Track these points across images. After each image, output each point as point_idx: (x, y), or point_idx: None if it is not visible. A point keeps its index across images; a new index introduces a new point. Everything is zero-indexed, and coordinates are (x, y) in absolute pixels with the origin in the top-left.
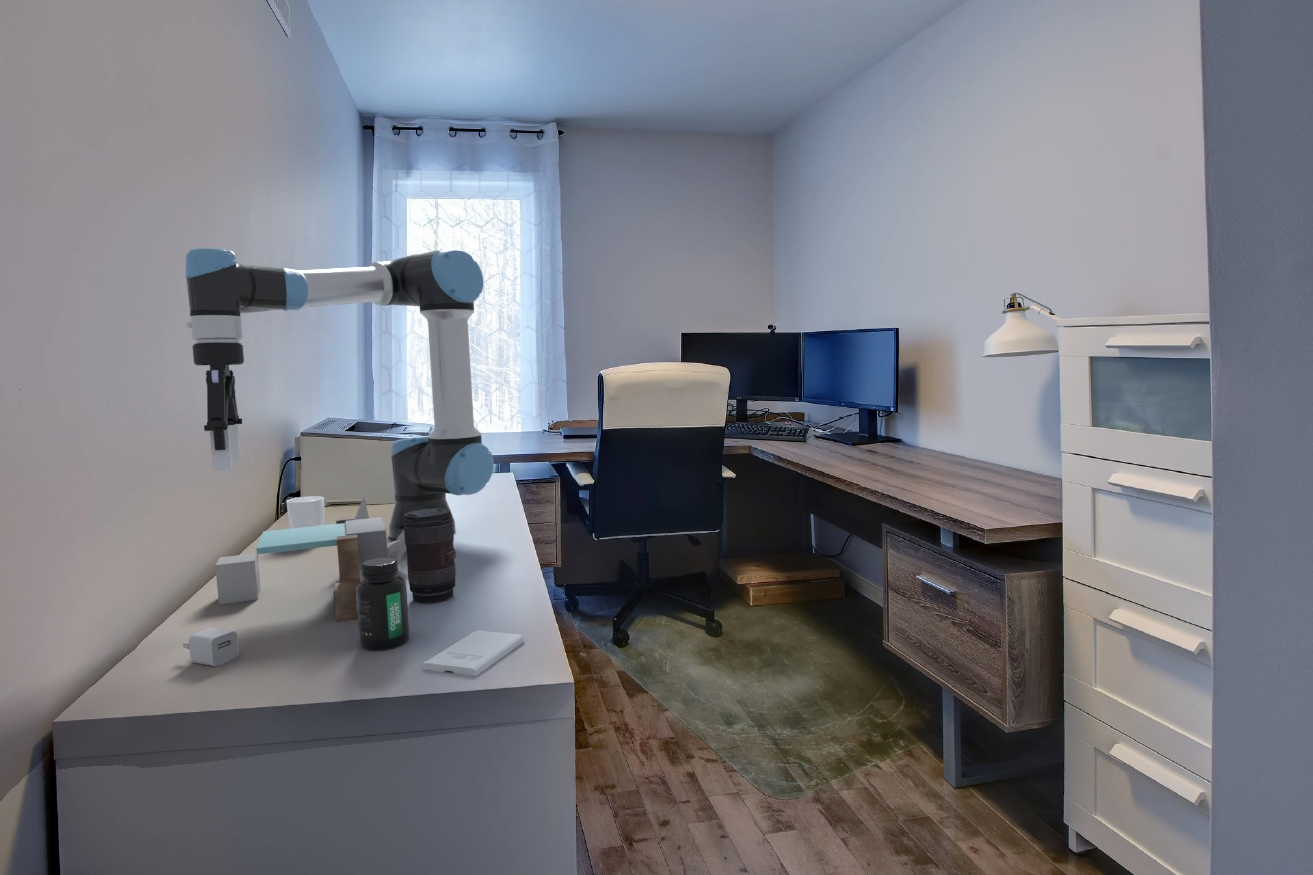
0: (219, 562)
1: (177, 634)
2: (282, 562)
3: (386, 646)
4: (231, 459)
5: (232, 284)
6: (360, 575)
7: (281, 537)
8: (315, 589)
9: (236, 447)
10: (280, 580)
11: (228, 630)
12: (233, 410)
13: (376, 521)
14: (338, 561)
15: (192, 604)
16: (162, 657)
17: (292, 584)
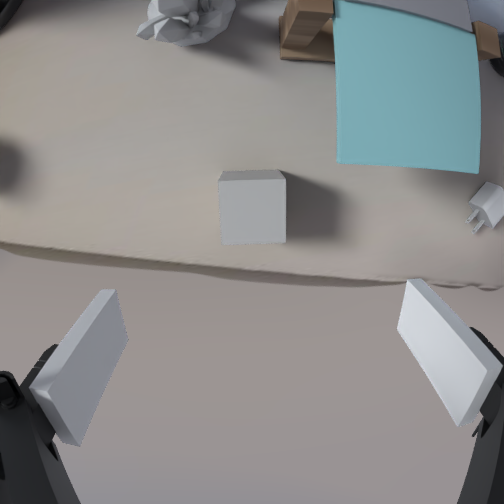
0: (266, 239)
1: (388, 250)
2: (58, 167)
3: None
4: (119, 320)
5: None
6: (225, 22)
7: (423, 129)
8: (261, 87)
9: (98, 329)
10: (171, 148)
11: (500, 194)
12: (52, 482)
13: None
14: (479, 60)
15: (258, 257)
16: (450, 249)
17: (208, 125)
